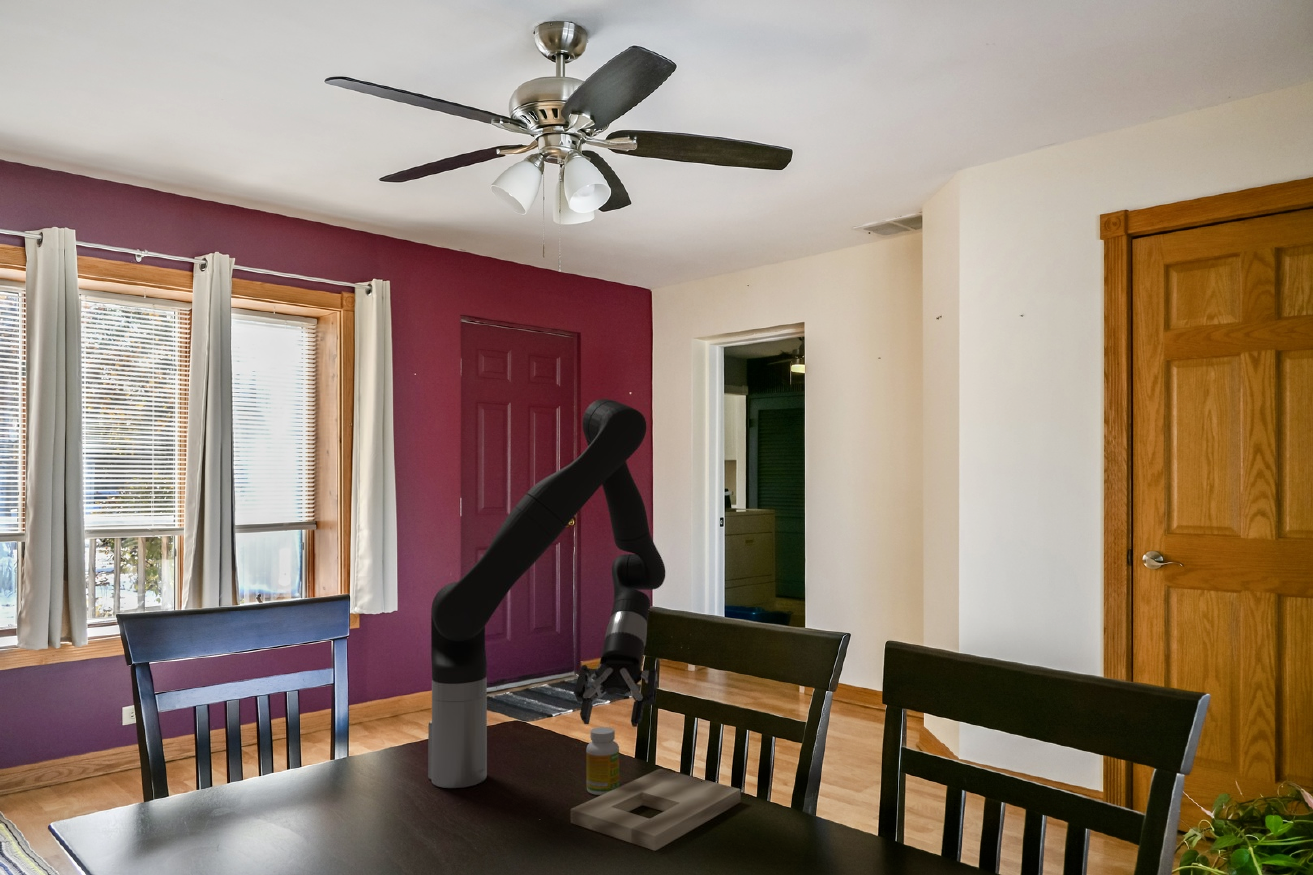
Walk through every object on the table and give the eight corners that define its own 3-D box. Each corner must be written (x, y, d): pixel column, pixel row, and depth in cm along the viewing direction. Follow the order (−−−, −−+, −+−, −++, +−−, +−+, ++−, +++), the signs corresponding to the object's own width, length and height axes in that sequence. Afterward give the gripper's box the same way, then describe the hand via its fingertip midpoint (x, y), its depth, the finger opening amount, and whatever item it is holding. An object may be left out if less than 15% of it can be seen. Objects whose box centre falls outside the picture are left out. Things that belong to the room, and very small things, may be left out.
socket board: (570, 822, 128) (570, 809, 128) (660, 780, 145) (660, 768, 145) (655, 850, 118) (655, 835, 118) (740, 801, 135) (740, 788, 135)
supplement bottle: (614, 796, 138) (614, 735, 138) (582, 794, 139) (582, 734, 139) (622, 785, 143) (622, 726, 143) (591, 783, 144) (591, 724, 145)
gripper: (583, 629, 156) (564, 709, 145) (659, 631, 153) (646, 713, 142) (591, 652, 161) (574, 732, 150) (665, 655, 158) (653, 736, 147)
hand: (609, 723), depth 146 cm, fingers open, 8 cm apart
